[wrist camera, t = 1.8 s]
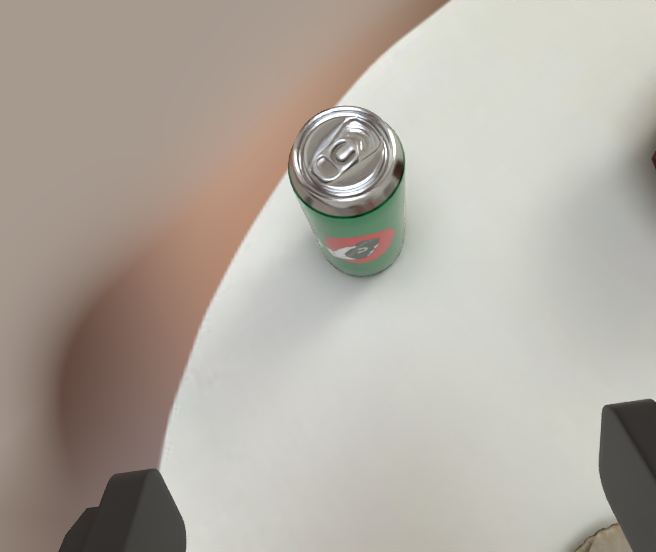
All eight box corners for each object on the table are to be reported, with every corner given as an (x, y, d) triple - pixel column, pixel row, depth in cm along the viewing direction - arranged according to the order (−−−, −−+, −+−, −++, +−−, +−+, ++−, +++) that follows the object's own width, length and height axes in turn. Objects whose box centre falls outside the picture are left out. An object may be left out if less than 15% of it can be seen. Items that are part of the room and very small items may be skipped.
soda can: (421, 237, 36) (431, 149, 24) (361, 295, 35) (341, 235, 24) (363, 183, 37) (345, 74, 25) (304, 238, 36) (258, 154, 25)
